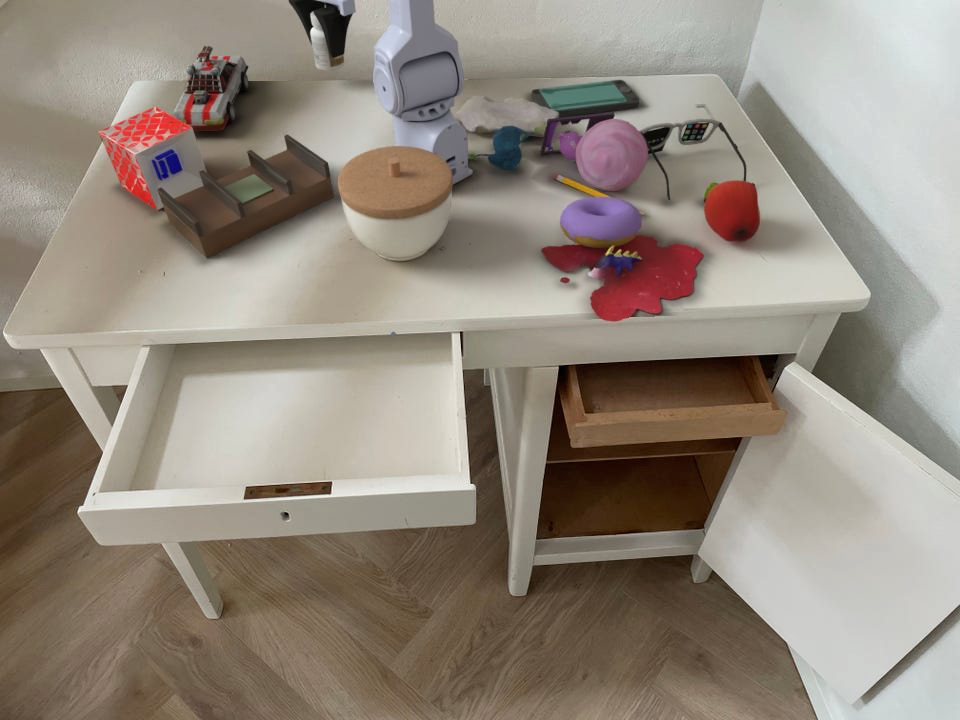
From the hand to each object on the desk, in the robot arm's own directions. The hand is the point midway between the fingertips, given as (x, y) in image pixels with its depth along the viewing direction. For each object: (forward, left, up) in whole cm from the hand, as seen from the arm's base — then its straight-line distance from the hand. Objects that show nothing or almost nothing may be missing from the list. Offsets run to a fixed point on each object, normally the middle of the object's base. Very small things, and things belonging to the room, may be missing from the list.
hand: (328, 49), depth 107 cm
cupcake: (-44, -16, -3) cm, 47 cm away
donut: (-55, 0, -5) cm, 55 cm away
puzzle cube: (-8, +32, -6) cm, 33 cm away
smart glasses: (-51, -21, -5) cm, 55 cm away
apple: (-66, -10, -3) cm, 67 cm away
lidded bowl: (-38, +17, -6) cm, 42 cm away
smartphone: (-30, -25, -6) cm, 40 cm away
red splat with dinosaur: (-60, +1, -7) cm, 60 cm away
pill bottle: (0, 0, -3) cm, 3 cm away
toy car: (+6, +17, -6) cm, 19 cm away
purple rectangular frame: (-40, -12, -6) cm, 42 cm away
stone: (-21, -7, -4) cm, 22 cm away
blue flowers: (-32, -7, -3) cm, 33 cm away
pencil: (-48, -7, -5) cm, 49 cm away
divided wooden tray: (-20, +26, -5) cm, 34 cm away
